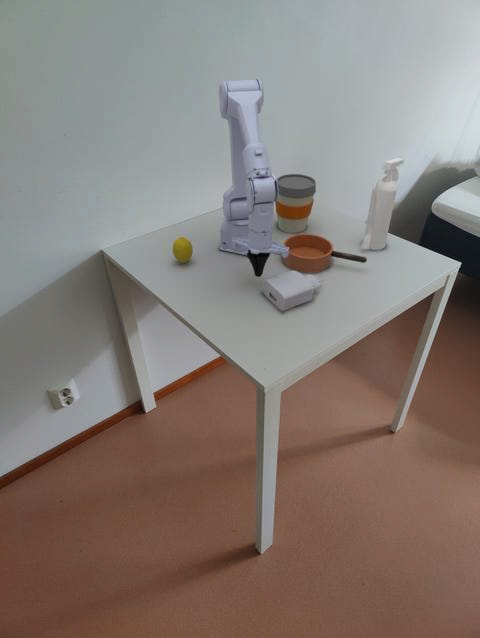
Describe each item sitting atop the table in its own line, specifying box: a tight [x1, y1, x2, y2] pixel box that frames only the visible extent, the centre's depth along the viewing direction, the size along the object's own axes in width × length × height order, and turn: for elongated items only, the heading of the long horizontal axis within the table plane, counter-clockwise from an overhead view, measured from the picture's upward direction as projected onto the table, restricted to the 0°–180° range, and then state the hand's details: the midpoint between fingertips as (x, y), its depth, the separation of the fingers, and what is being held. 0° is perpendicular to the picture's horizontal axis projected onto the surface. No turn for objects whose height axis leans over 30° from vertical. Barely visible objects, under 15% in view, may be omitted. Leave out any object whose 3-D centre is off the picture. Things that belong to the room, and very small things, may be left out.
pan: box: [282, 233, 334, 273], centre depth 115 cm, size 14×14×4 cm
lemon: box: [172, 236, 194, 263], centre depth 113 cm, size 6×6×8 cm
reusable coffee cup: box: [274, 173, 317, 234], centre depth 128 cm, size 13×13×15 cm
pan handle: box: [328, 250, 368, 264], centre depth 111 cm, size 11×2×2 cm, turn 67°
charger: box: [262, 269, 324, 312], centre depth 102 cm, size 5×9×15 cm
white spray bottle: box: [360, 157, 405, 251], centre depth 115 cm, size 7×12×25 cm, turn 131°
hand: (258, 274), depth 105 cm, fingers closed
